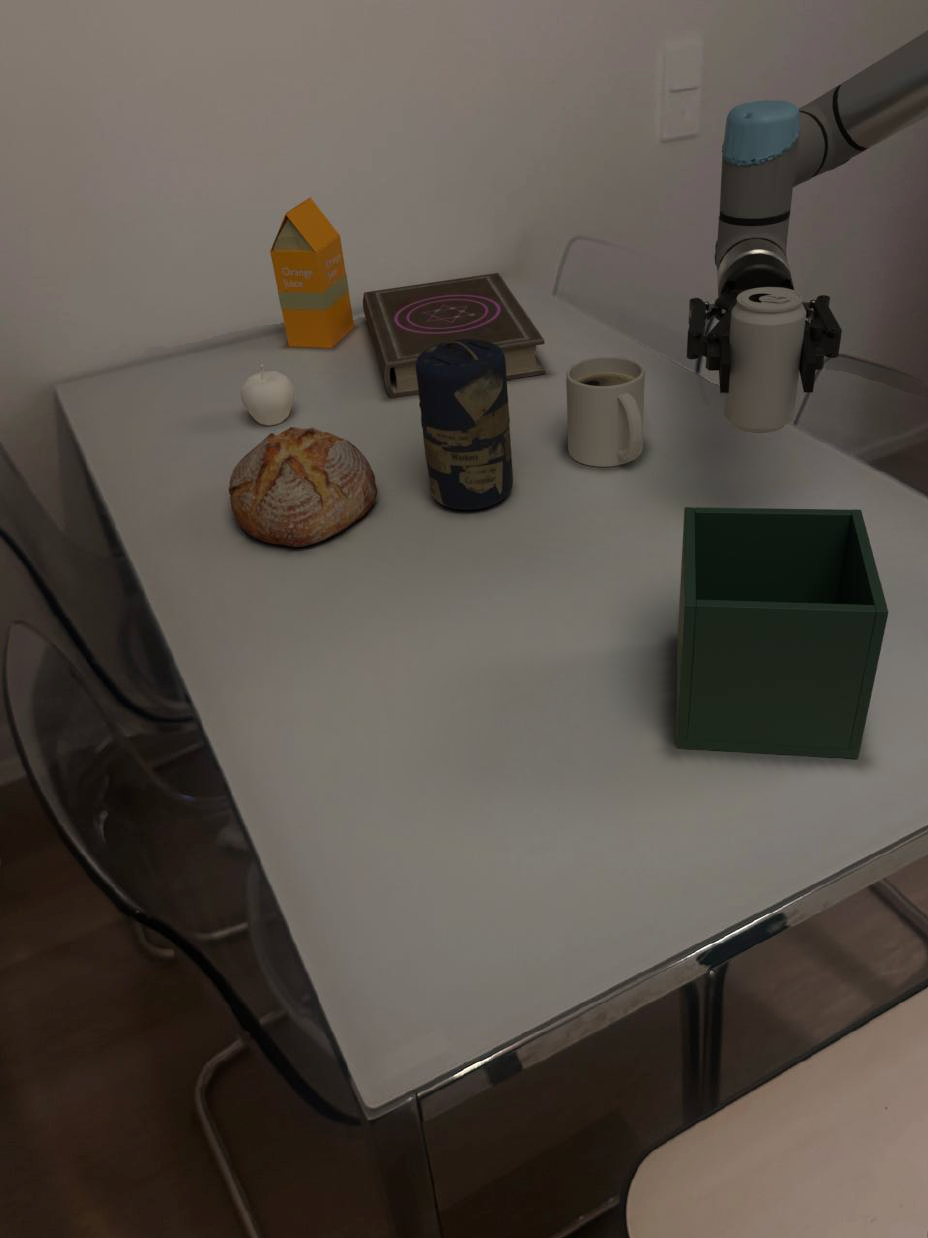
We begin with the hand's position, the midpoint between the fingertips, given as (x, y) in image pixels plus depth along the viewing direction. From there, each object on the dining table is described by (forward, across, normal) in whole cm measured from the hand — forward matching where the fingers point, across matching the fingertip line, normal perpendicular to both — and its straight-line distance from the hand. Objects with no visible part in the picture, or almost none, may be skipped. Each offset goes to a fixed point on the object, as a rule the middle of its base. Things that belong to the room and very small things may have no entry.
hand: (767, 377), depth 87 cm
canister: (-12, +30, -19) cm, 38 cm away
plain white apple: (-32, +61, -19) cm, 71 cm away
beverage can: (-5, 0, -7) cm, 8 cm away
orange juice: (-61, +63, -19) cm, 90 cm away
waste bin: (+20, 0, -19) cm, 28 cm away
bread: (-9, +49, -19) cm, 53 cm away
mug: (-22, +15, -19) cm, 33 cm away
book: (-56, +41, -19) cm, 72 cm away
